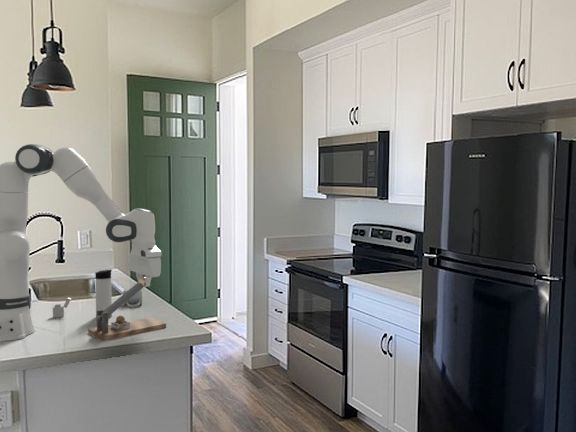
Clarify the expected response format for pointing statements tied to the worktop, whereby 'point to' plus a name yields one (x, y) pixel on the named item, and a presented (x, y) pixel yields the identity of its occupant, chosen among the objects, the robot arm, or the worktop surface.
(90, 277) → the worktop surface
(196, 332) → the worktop surface
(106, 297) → the travel mug
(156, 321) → the nutcracker base
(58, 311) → the lighter
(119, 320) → the walnut
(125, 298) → the lever
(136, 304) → the ceramic mug
